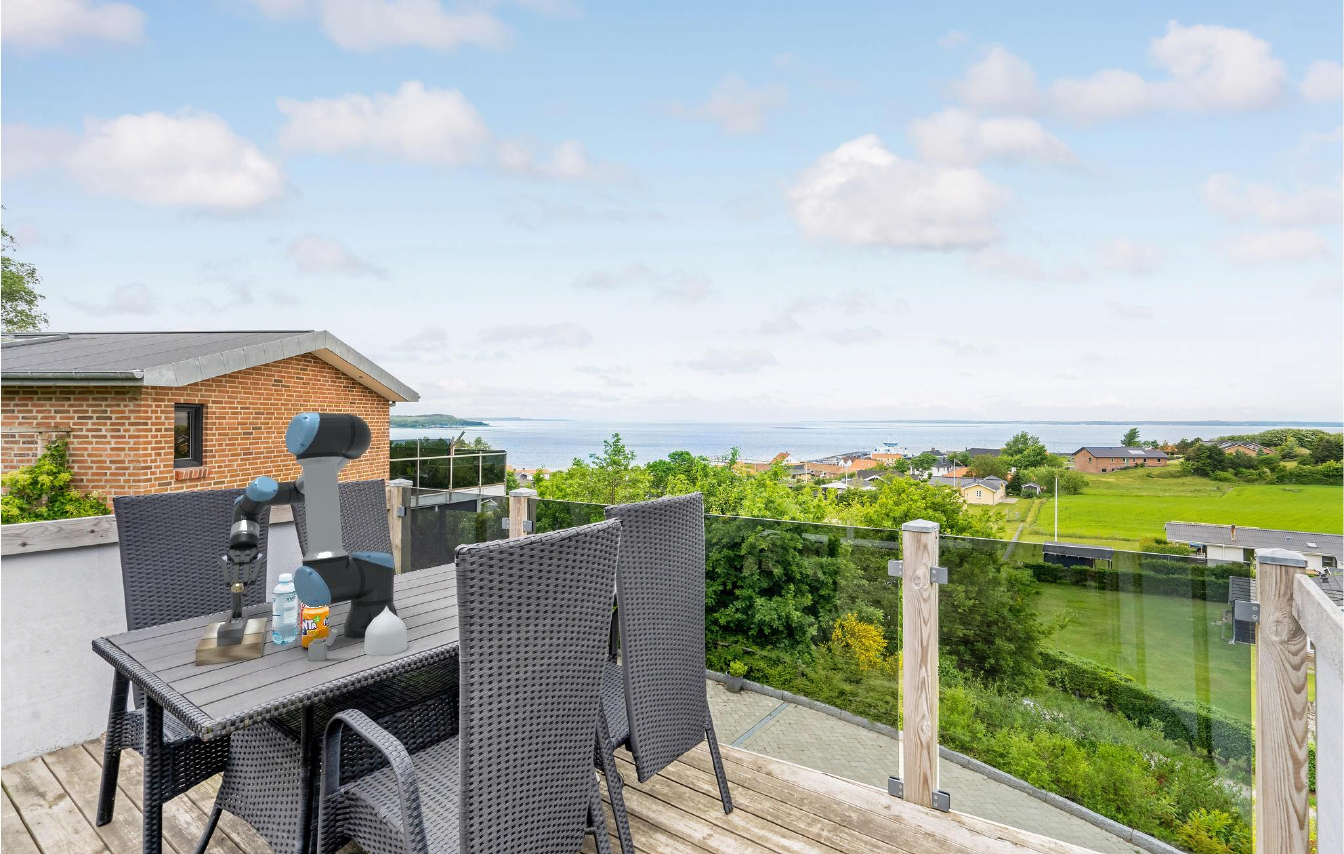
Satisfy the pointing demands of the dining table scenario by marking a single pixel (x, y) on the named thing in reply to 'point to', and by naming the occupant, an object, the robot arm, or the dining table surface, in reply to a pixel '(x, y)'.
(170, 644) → the dining table surface
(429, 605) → the dining table surface
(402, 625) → the teardrop
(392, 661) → the dining table surface
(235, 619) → the bolt
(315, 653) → the lighter
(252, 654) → the door and jamb
